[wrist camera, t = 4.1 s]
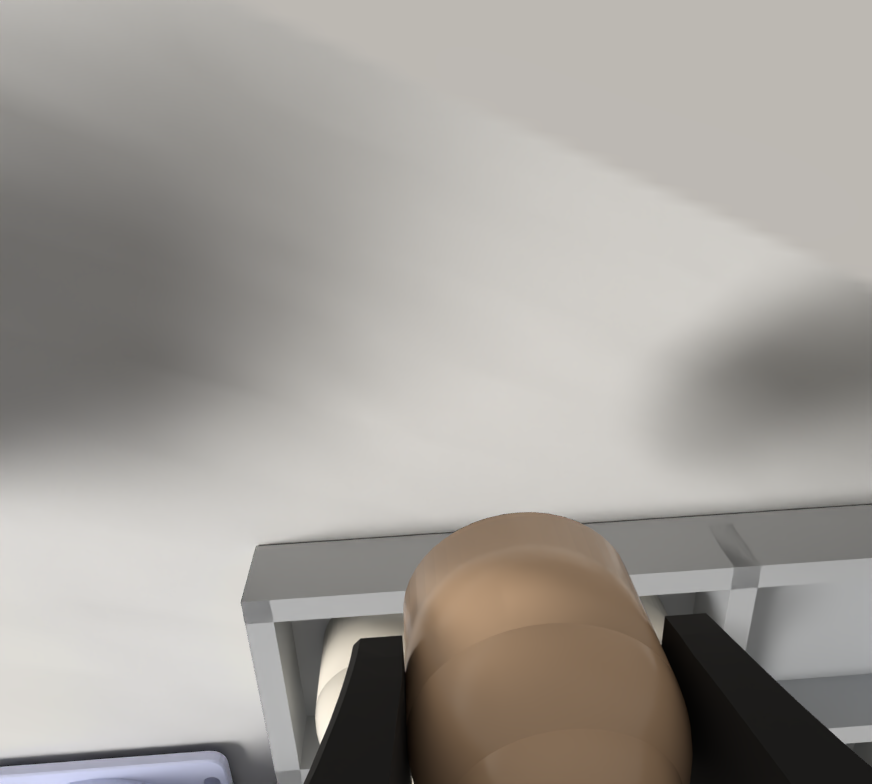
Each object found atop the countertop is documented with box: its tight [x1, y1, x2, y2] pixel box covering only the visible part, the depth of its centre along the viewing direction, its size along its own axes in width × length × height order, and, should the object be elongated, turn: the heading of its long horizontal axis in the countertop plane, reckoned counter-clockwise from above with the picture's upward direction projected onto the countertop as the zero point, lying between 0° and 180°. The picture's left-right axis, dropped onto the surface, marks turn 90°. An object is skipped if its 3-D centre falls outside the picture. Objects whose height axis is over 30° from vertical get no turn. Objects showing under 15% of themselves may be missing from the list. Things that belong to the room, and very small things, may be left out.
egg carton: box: [241, 505, 872, 784], centre depth 22 cm, size 13×19×2 cm
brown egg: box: [403, 512, 693, 784], centre depth 10 cm, size 4×4×5 cm
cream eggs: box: [315, 595, 668, 784], centre depth 20 cm, size 10×16×5 cm, turn 92°
